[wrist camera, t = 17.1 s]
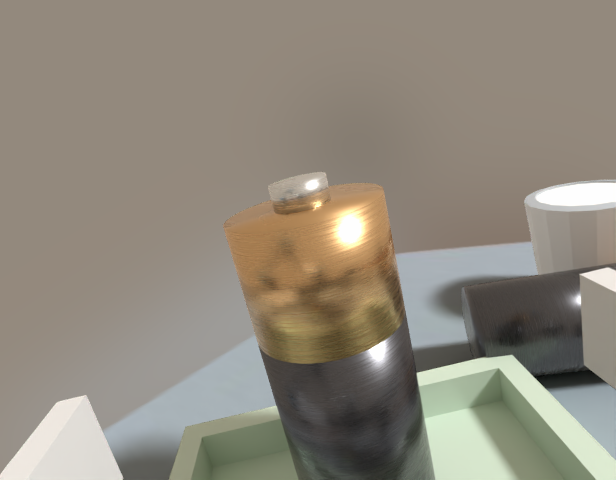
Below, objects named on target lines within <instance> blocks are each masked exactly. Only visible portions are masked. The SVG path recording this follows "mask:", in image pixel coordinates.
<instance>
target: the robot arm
mask: <svg viewBox="0 0 616 480" xmlns="http://www.w3.org/2000/svg"><path fill="white" fill-rule="evenodd" d="M580 295H581V315H582V336H583V357H584V365H585V366H586V367H587V368H589V369H590V370H591V371H593V372H594V373H595V374H596V375H598V376H599V377H600V378H601V379H603V380H604V381H605V382H607V383H608V384H609V385H610V386H612V387H613V388H614V389H616V271H615V270H613V269H611V268H608V267H607V268H603V269H599V270H595V271H591V272H587V273H583V274H580ZM0 480H123V476H122V474H121V472H120V470H119V467H118V465H117V463H116V461H115V458H114V456H113V454H112V452H111V450H110V447H109V445H108V443H107V441H106V438H105V436H104V434H103V432H102V429H101V428H100V425H99V423H98V421H97V419H96V416H95V414H94V412H93V409H92V407H91V405H90V403H89V400H88V398H87V396H86V395H84V396H80V397H76V398H72V399H68V400H64V401H60V402H57V403H56V404H55V405H54V407H53V408H52V409H51V410H50V412H49V413H48V414H47V415H46V417H45V418H44V419H43V421H42V422H41V423H40V424H39V426H38V427H37V428H36V430H35V431H34V432H33V433H32V435H31V436H30V437H29V438H28V440H27V441H26V442H25V444H24V445H23V446H22V447H21V449H20V450H19V451H18V453H17V454H16V455H15V456H14V458H13V459H12V460H11V461H10V463H9V464H8V465H7V466H6V468H5V469H4V470H3V472H2V473H1V474H0Z"/></svg>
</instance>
